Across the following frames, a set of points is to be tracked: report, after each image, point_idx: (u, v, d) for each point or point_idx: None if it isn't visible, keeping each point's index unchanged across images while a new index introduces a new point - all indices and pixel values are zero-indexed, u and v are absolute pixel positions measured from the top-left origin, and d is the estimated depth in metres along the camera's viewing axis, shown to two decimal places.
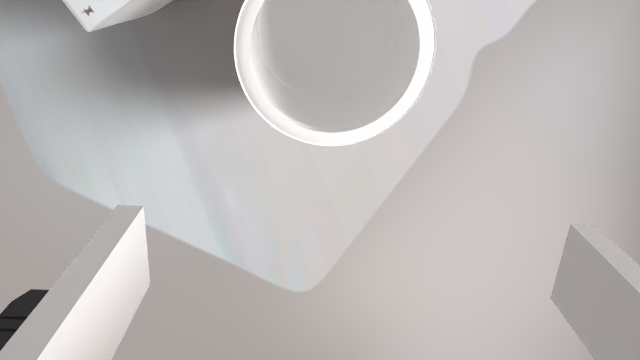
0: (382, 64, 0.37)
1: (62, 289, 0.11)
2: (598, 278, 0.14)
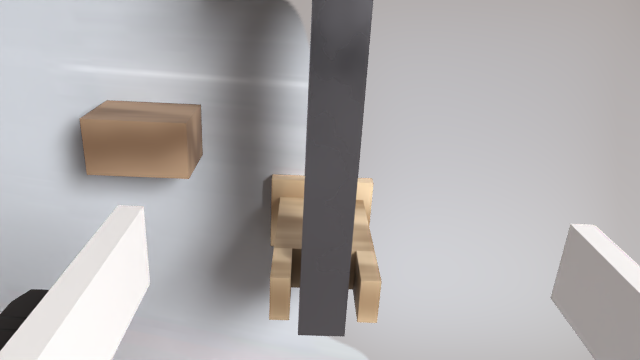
0: None
1: (62, 289, 0.11)
2: (598, 277, 0.14)
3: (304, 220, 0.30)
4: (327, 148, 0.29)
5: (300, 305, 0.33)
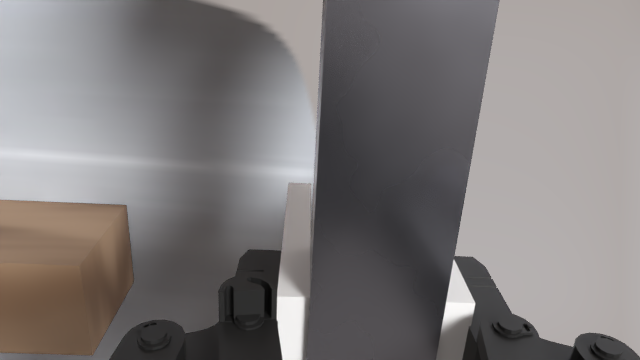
0: None
1: (292, 246, 0.14)
2: None
3: None
4: None
5: None
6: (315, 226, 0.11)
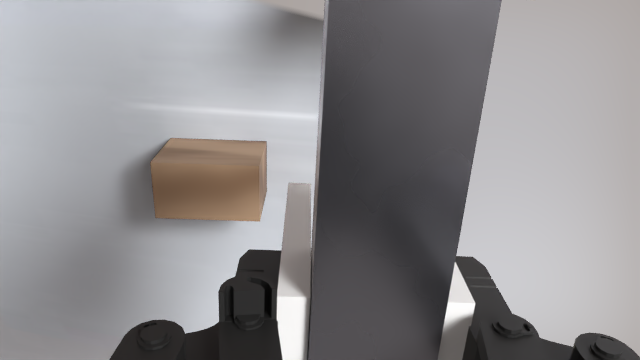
0: None
1: (292, 246, 0.14)
2: None
3: None
4: None
5: None
6: (317, 227, 0.11)
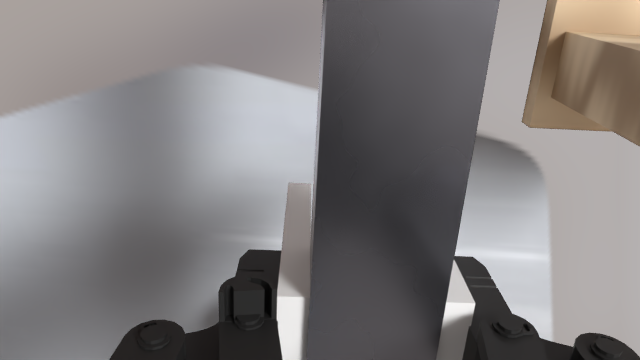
0: None
1: (292, 246, 0.14)
2: None
3: None
4: None
5: None
6: (315, 225, 0.11)
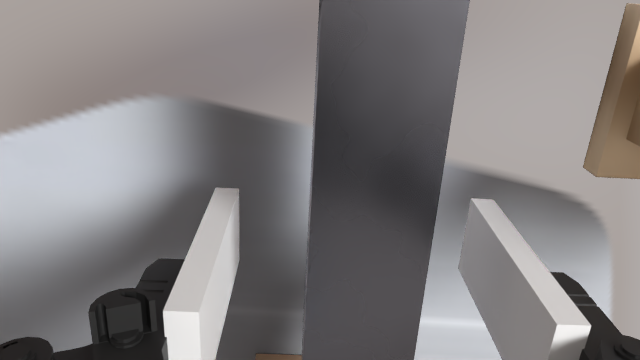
0: None
1: (197, 256, 0.13)
2: (486, 244, 0.16)
3: None
4: (347, 347, 0.14)
5: None
6: (312, 193, 0.12)
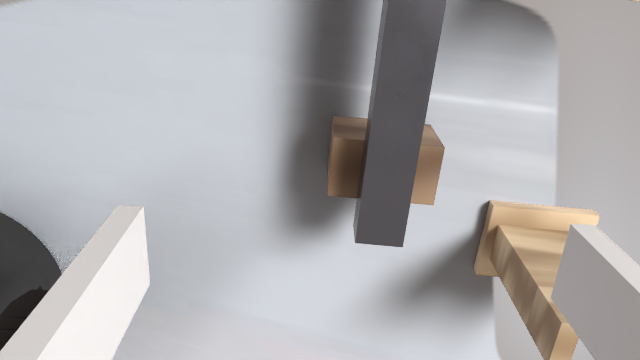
0: None
1: (62, 289, 0.11)
2: (598, 277, 0.14)
3: (373, 115, 0.29)
4: (405, 35, 0.27)
5: (360, 210, 0.32)
6: None
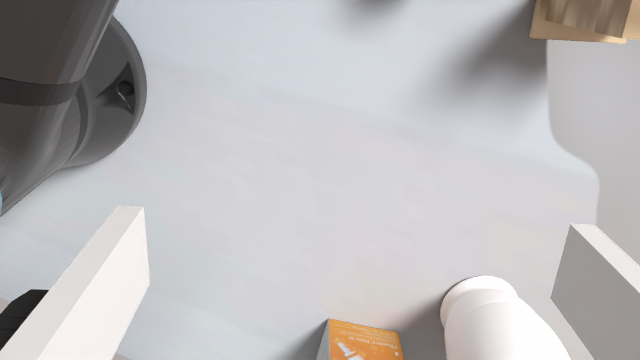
0: None
1: (62, 289, 0.11)
2: (598, 277, 0.14)
3: None
4: None
5: None
6: None
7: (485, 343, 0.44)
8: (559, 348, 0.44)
